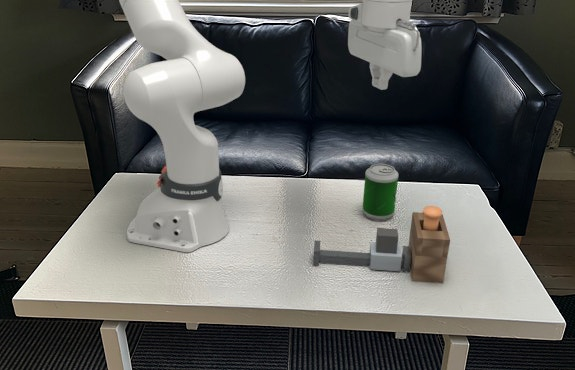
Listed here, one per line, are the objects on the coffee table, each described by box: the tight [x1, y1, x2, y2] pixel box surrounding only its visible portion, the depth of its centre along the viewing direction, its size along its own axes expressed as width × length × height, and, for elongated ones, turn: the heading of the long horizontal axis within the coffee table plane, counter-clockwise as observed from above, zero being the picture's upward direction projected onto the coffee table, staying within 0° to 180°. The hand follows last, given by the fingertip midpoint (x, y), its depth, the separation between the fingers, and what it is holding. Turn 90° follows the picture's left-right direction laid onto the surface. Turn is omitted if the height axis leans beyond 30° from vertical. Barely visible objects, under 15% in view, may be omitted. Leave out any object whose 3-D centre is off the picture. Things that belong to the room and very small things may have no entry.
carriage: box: [369, 227, 402, 272], centre depth 114 cm, size 6×5×8 cm
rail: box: [312, 240, 411, 273], centre depth 115 cm, size 19×4×4 cm, turn 84°
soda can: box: [362, 163, 399, 222], centre depth 132 cm, size 8×8×12 cm
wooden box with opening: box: [407, 211, 451, 284], centre depth 113 cm, size 6×10×10 cm, turn 174°
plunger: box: [422, 205, 443, 231], centre depth 111 cm, size 4×4×6 cm
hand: (379, 87), depth 110 cm, fingers closed
